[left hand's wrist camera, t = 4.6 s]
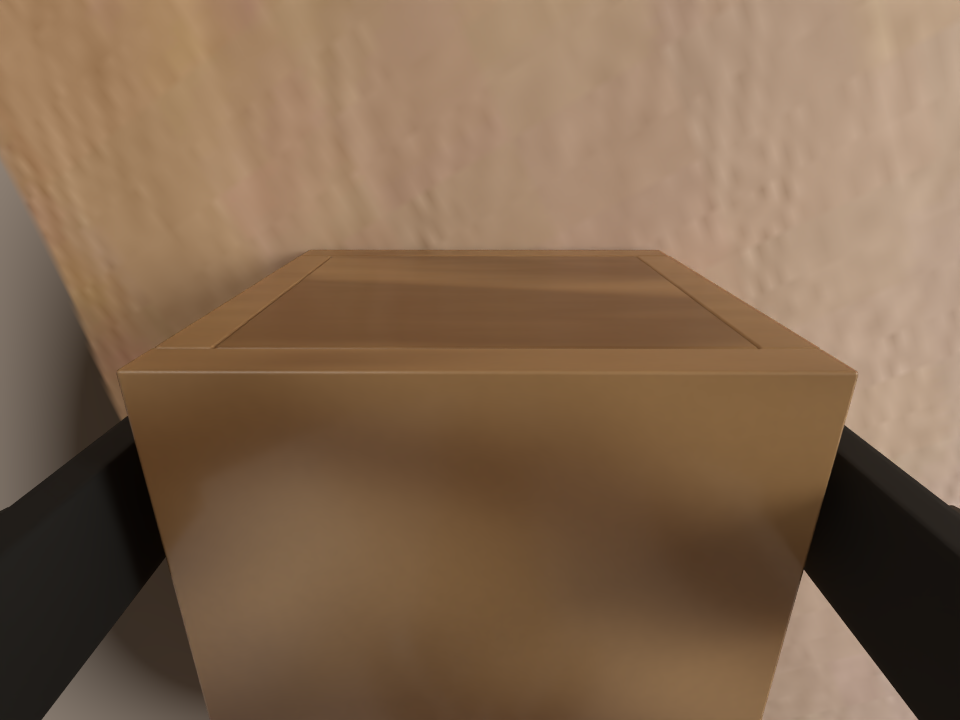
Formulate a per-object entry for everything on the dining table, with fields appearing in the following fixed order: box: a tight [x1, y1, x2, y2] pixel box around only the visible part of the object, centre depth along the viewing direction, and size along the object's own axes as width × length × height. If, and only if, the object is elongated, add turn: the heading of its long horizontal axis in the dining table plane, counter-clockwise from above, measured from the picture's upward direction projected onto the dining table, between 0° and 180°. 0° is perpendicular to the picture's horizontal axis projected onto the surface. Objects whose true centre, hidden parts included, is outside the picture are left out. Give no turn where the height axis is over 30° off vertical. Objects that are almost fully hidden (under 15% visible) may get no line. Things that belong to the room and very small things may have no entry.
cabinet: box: [117, 250, 858, 720], centre depth 16 cm, size 17×11×10 cm
